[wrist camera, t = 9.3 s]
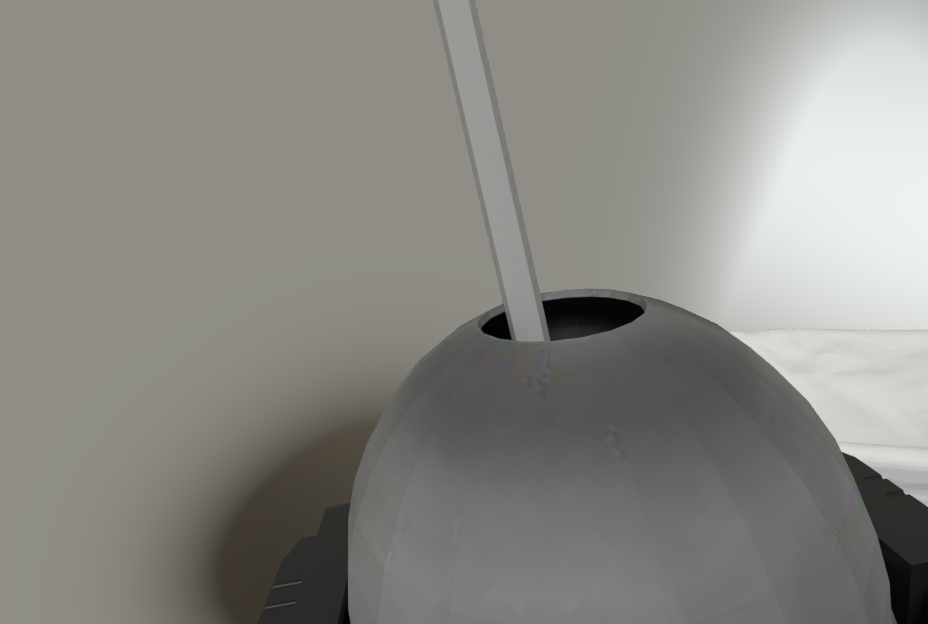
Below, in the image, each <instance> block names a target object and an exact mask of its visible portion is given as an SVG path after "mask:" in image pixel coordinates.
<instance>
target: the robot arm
mask: <svg viewBox="0 0 928 624" xmlns="http://www.w3.org/2000/svg"><path fill="white" fill-rule="evenodd" d="M842 454H843V456H844V458H845V461H846V463H847V465H848V467H849V469H850V471H851V473H852V475H853V477H854V480H855V482H856V485H857V487H858V490H859V492H860V495H861V497H862V499H863V502H864V504H865V507H866V509H867V512H868V514H869V517H870V519H871V522H872V524H873V526H874V529H875V531H876V534H877V537H878V541H879V545H880V548H881V552H882V556H883V560H884V563H885V567H886V571H887V575H888V579H889V582H890V599H891V609H892V612H893V614H894V617H895V620H896V622H897V624H928V507H927V506H926V505H925V504H923V503H922V502H920V501H919V500H917V499H916V498H914V497H913V496H911V495H910V494H907V495H906V494H905V493H904V491H903V489H901V488H900V487H898V486H897V485H895V484H894V483H892V482H891V481H890V480H888V479H887V478H886V479H883V478H882V476H881V474H879V473H878V472H876V471H875V470H873V469H872V468H871V467H869V466H868V465H866V464H865V463H863V462H862V461H860V460H859V459H857V458H856V457H854V456H851V455H849V454H846V453H844V452H842ZM350 504H351V501H347V502H341V503H336V504H331V505H328V506H327V507H326V509H325V512H324V515H323V518H322V522H321V525H320V528H319V531H318V534H317V535H316V536H311V537H306V538H301V539H300V541H299V542H298V543H297V544H296V545H295V547H294V548H293V549H292V550H291V551H290V552H289V554H288V555H287V556H286V557H285V558H284V559H283V560H282V563H281V565H280V568H279V570H278V573H277V576H276V578H275V581H274V583H273V590H271V591H270V593H269V596H268V599H267V601H266V604H265V611H263V612H262V614H261V617H260V619H259V622H258V624H350V617H349V611H348V516H349V510H350Z"/></svg>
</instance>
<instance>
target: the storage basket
mask: <svg viewBox="0 0 928 624" xmlns="http://www.w3.org/2000/svg"><path fill="white" fill-rule="evenodd" d="M729 333H730V334H732V335H733V336H735V337H736V338H738V339H739V340H741V341H742V342H743V343H745V344H746V345H748V346H749V347H750V348H751V349H753V350H754V351H755V352H756V353H757V354H759V355H760V356H761V357H762V358H763V359H765V360H766V361H767V362H768V363H769V364H771V365H772V366H773V367H774V368H775V369H776V370H777V371H778V372H779V373H780V374H781V375H782V376H783V377H784V378H785V379H786V380H787V381H788V382H789V383H790V384H791V385H792V386H793V387H794V388H795V389H796V390H797V391H798V392H799V393H801V394H802V395H803V396H804V397H805V398H806V399H807V400H808V401H809V403H810V404H811V406H812V407H813V408H814V410H815V411H816V413H817V414H818V415H819V417H820V418H821V420H822V421H823V422H824V424H825V425H826V427H827V428H828V429H829V431H830V432H831V434H832V435H833V436H834V438H835V439H836V442H837V444H838V446H839V448H840V450H841V452H844V453H846V454H849V455H851V456H854V457H856V458H857V459H859V460H860V461H862V462H863V463H865V464H866V465H868V466H869V467H871V468H872V469H873V470H875V471H876V472H878V473H879V474H881V476H882V478H883V479H886V478H887V479H888V480H890V481H891V482H892V483H894V484H895V485H897V486H898V487H900V488H901V489H903V491H904V493H905V494H906V495H907V494H910V495H911V496H913V497H914V498H916V499H917V500H919V501H920V502H922V503H923V504H925V505H926V506H927V507H928V330H840V329H839V330H838V329H831V330H830V329H768V330H751V331H729Z"/></svg>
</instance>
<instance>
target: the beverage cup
mask: <svg viewBox="0 0 928 624" xmlns="http://www.w3.org/2000/svg"><path fill="white" fill-rule="evenodd" d="M433 1H434V5H435V10H436V14H437V19H438V23H439V27H440V31H441V36H442V40H443V44H444V49H445V53H446V57H447V62H448V66H449V71H450V75H451V79H452V83H453V88H454V92H455V96H456V101H457V105H458V110H459V113H460V118H461V122H462V127H463V131H464V135H465V140H466V144H467V148H468V153H469V157H470V161H471V166H472V170H473V174H474V178H475V183H476V187H477V192H478V196H479V200H480V204H481V209H482V213H483V218H484V221H485V226H486V230H487V235H488V239H489V243H490V248H491V252H492V256H493V261H494V265H495V269H496V274H497V278H498V282H499V287H500V291H501V295H502V299H503V304H502V305H500V306H498V307H495V308H493V309H491V310H489V311H487V312H486V313H484V314H482V315H480V316H478V317H476V318H474V319H472V320H470V321H468V322H467V323H465V324H463V325H461V326H460V327H459V328H458V329H456V330H455V331H454V332H453V333H451V334H450V335H449V336H448V337H447V338H445V339H444V340H443V341H442V342H440V343H439V344H438V345H437V346H436V347H435V348H433V349H432V350H431V351H430V352H429V353H427V354H426V355H425V356H424V357H423V358H422V359H420V360H419V362H418V363H417V364H416V365H415V366H414V368H413V369H412V370H411V372H410V373H409V374H408V375H407V376H406V378H405V379H404V380H403V381H402V382H401V384H400V385H399V386H398V388H397V390H396V392H395V393H394V395H393V397H392V399H391V401H390V403H389V404H388V406H387V408H386V410H385V412H384V414H383V415H382V417H381V419H380V421H379V423H378V425H377V427H376V429H375V430H374V432H373V434H372V436H371V438H370V440H369V441H368V443H367V446H366V449H365V452H364V454H363V457H362V460H361V463H360V466H359V469H358V472H357V474H356V477H355V480H354V486H353V492H352V498H351V504H350V510H349V516H348V611H349V617H350V624H897V622H896V620H895V617H894V614H893V612H892V609H891V599H890V582H889V579H888V575H887V571H886V567H885V563H884V560H883V556H882V552H881V548H880V545H879V541H878V537H877V534H876V531H875V529H874V526H873V524H872V522H871V519H870V517H869V514H868V512H867V509H866V507H865V504H864V502H863V499H862V497H861V495H860V492H859V490H858V487H857V485H856V482H855V480H854V477H853V475H852V473H851V471H850V469H849V467H848V465H847V463H846V461H845V458H844V456H843V454H842V452H841V450H840V448H839V446H838V444H837V442H836V439H835V438H834V436H833V435H832V434H831V432H830V431H829V429H828V428H827V427H826V425H825V424H824V422H823V421H822V420H821V418H820V417H819V415H818V414H817V413H816V411H815V410H814V408H813V407H812V406H811V404H810V403H809V401H808V400H807V399H806V398H805V397H804V396H803V395H802V394H801V393H799V392H798V391H797V390H796V389H795V388H794V387H793V386H792V385H791V384H790V383H789V382H788V381H787V380H786V379H785V378H784V377H783V376H782V375H781V374H780V373H779V372H778V371H777V370H776V369H775V368H774V367H773V366H772V365H771V364H769V363H768V362H767V361H766V360H765V359H763V358H762V357H761V356H760V355H759V354H757V353H756V352H755V351H754V350H753V349H751V348H750V347H749V346H748V345H746V344H745V343H743V342H742V341H741V340H739V339H738V338H736V337H735V336H733V335H732V334H730V333H729V332H728V331H726V330H724V329H723V328H722V327H720V326H719V325H718V324H715V323H713V322H711V321H709V320H707V319H705V318H702V317H700V316H698V315H696V314H694V313H691V312H689V311H687V310H685V309H683V308H680V307H677V306H675V305H672V304H670V303H667V302H664V301H661V300H658V299H654V298H650V297H645V296H641V295H637V294H633V293H628V292H622V291H616V290H606V289H577V290H563V291H556V292H548V293H542V294H540V291H539V287H538V282H537V278H536V273H535V269H534V264H533V260H532V255H531V251H530V246H529V242H528V237H527V233H526V228H525V224H524V219H523V215H522V210H521V206H520V201H519V197H518V193H517V188H516V183H515V179H514V174H513V170H512V165H511V161H510V156H509V152H508V148H507V143H506V138H505V134H504V129H503V125H502V120H501V116H500V111H499V107H498V102H497V98H496V94H495V89H494V85H493V80H492V75H491V71H490V66H489V62H488V57H487V53H486V48H485V44H484V39H483V35H482V30H481V26H480V21H479V17H478V12H477V8H476V3H475V0H433Z"/></svg>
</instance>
